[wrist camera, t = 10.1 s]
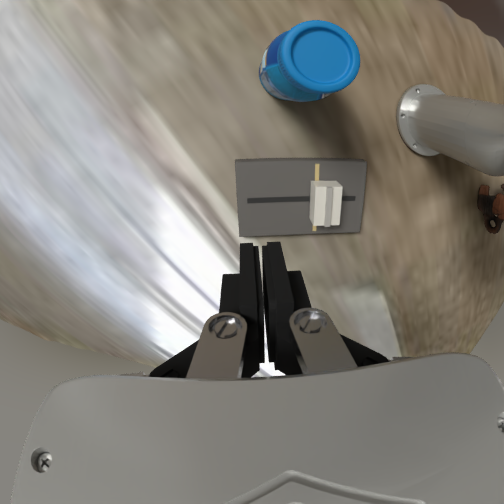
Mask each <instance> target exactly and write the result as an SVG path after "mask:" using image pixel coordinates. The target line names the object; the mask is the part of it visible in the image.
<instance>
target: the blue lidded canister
mask: <svg viewBox="0 0 504 504" xmlns="http://www.w3.org/2000/svg"><path fill="white" fill-rule="evenodd" d="M359 67H360V54H359V50H358V48H357V45H356V43H355V42H354V40H353V39H352V37H351V36H350V35H349V34H348V33H347V32H346V31H345V30H343V29H342V28H340V27H339V26H337V25H335V24H333V23H330V22H326V21H320V20H312V21H306V22H303V23H301V24H298V25H296V26H294V27H293V28H291V30H289V31H286V32H284V33H282V34H280V35H279V36H278V37H276V38H275V39H274V40H273V41H272V43H271V44H270V45H269V46H268V48H267V49H266V51H265V53H264V56H263V60H262V62H261V64H260V68H259V78H260V81H261V84H262V86H263V87H264V89H265V90H266V91H267V92H268V93H269V94H271V95H272V96H274V97H276V98H279V99H282V100H292V101H296V102H308V101H315V100H319V99H322V98H325V97H327V96H329V95H330V94H332V93H333V92H338V91H339V90H341V89H344V88H345V87H347V86H348V85H349V84H350V83H351V82H352V81H353V80H354V79H355V77H356V76H357V74H358V71H359Z"/></svg>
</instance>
